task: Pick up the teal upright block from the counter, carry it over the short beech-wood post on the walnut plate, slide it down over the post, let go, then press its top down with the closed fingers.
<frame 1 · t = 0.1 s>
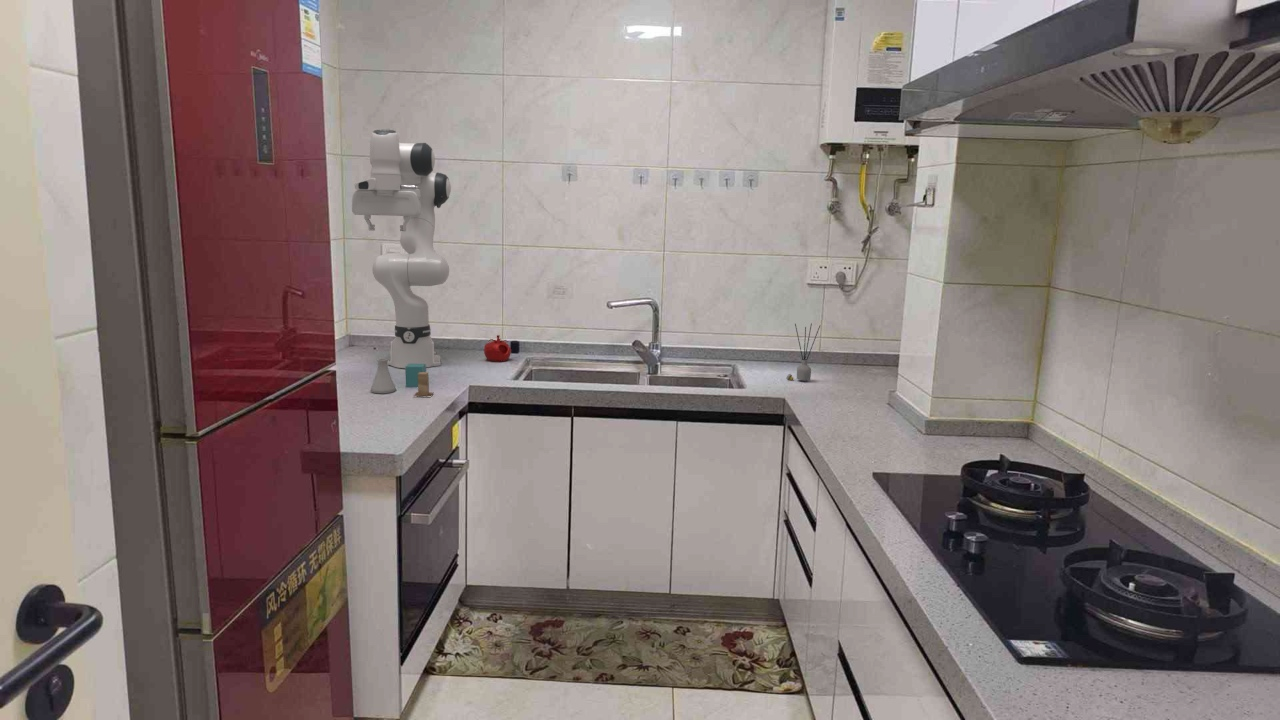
hand: (387, 230, 254), 48 cm above the countertop, tool pointing down, fingers open, 8 cm apart
reed diffuser: (801, 382, 282), on the countertop
hollow red tomato: (497, 360, 306), on the countertop
post: (423, 395, 249), on the countertop
flask: (383, 392, 253), on the countertop
teal upright block: (416, 385, 261), on the countertop
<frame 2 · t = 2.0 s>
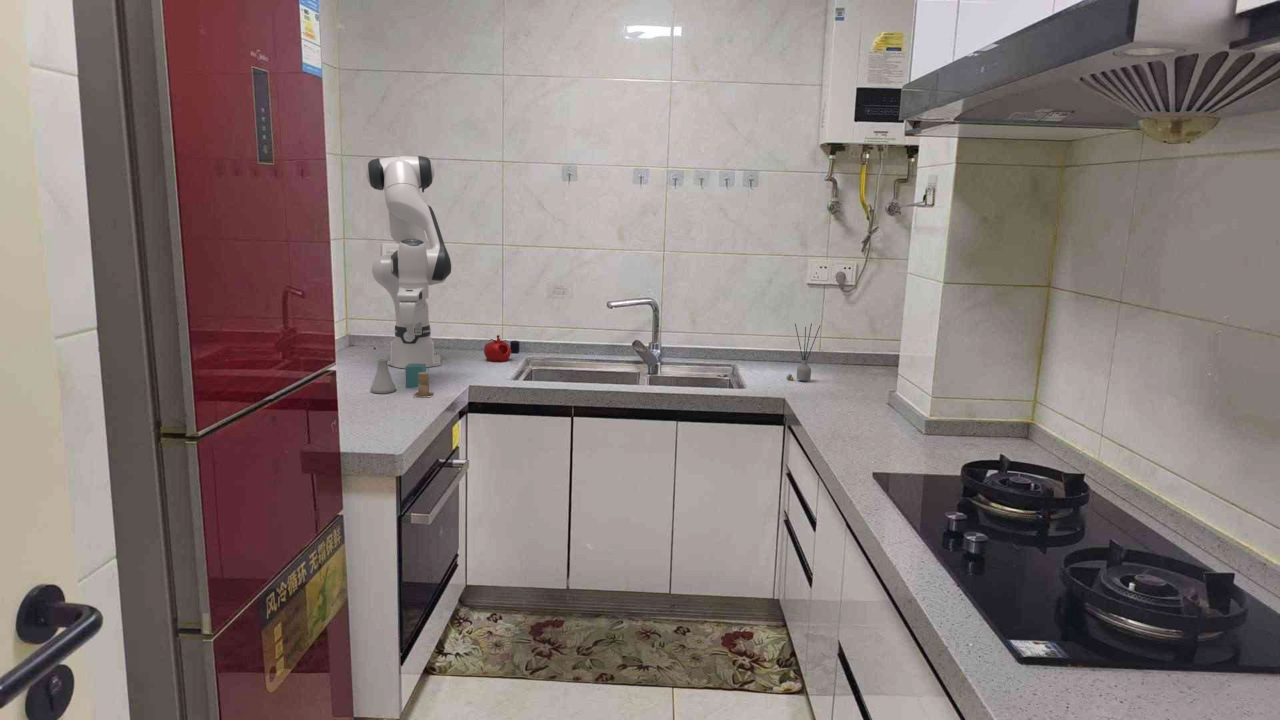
hand: (414, 337, 258), 15 cm above the countertop, tool pointing down, fingers open, 8 cm apart
nothing on the countertop moved.
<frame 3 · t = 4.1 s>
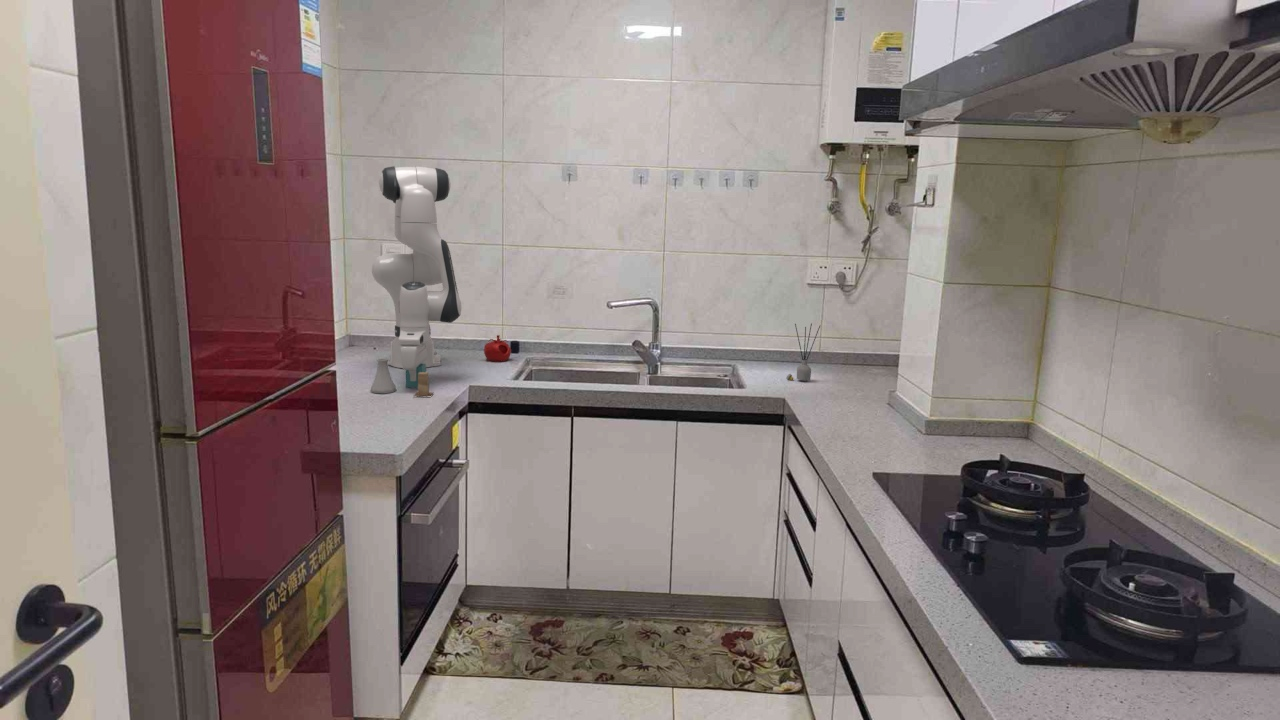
hand: (416, 378, 261), 2 cm above the countertop, tool pointing down, fingers closed on teal upright block, 5 cm apart
teal upright block: (416, 385, 261), on the countertop, touching gripper
everything else where it was.
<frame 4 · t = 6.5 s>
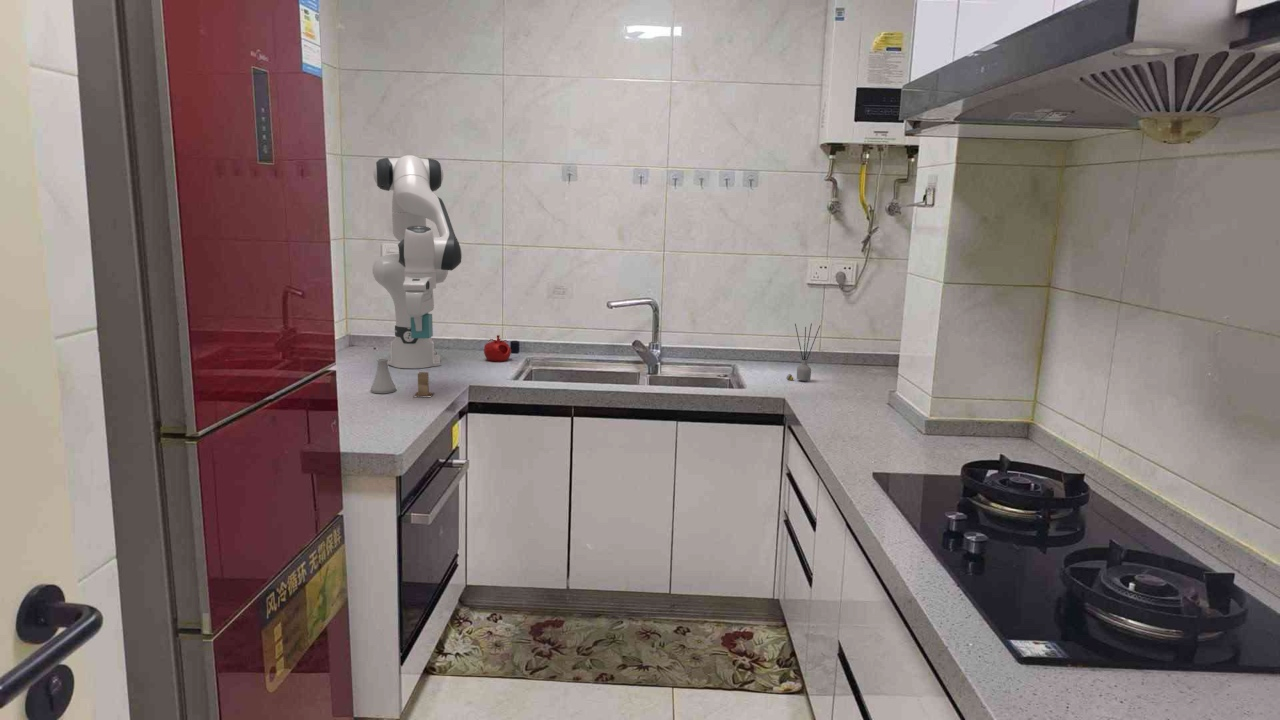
hand: (421, 329, 245), 20 cm above the countertop, tool pointing down, fingers closed on teal upright block, 5 cm apart
teal upright block: (422, 337, 246), point 18 cm above the countertop, touching gripper
everything else where it was.
when the fingers open (5 cm above the countertop, at t = 9.3 s): teal upright block drops 2 cm, resting on post.
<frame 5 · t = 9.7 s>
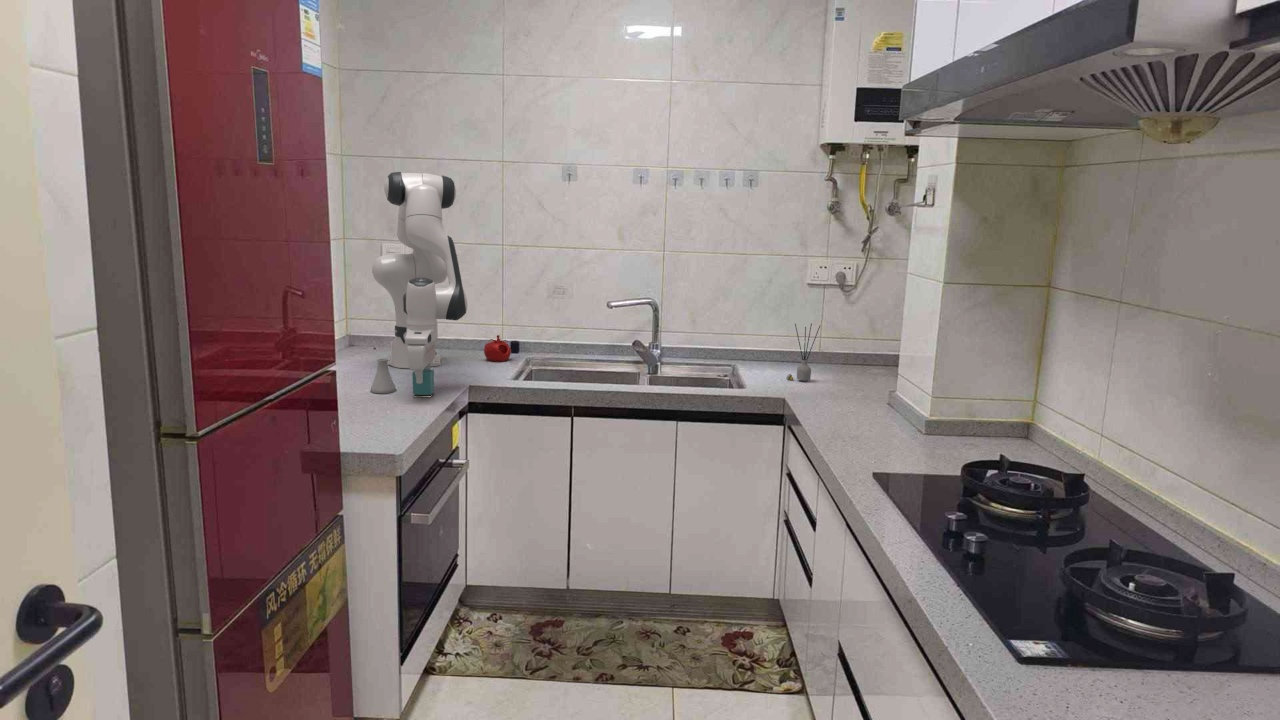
hand: (423, 379, 248), 5 cm above the countertop, tool pointing down, fingers open, 8 cm apart
teal upright block: (423, 392, 249), point 1 cm above the countertop, touching post
everything else where it was.
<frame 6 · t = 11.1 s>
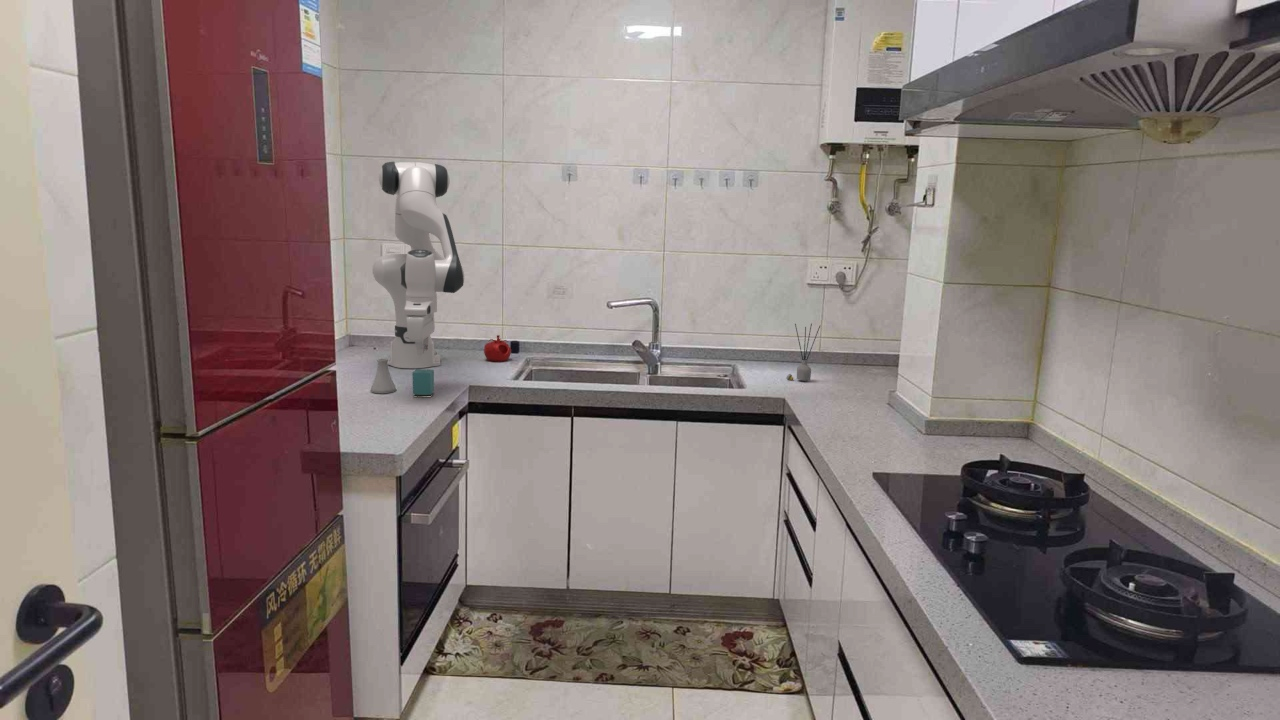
hand: (422, 352, 246), 13 cm above the countertop, tool pointing down, fingers open, 5 cm apart
nothing on the countertop moved.
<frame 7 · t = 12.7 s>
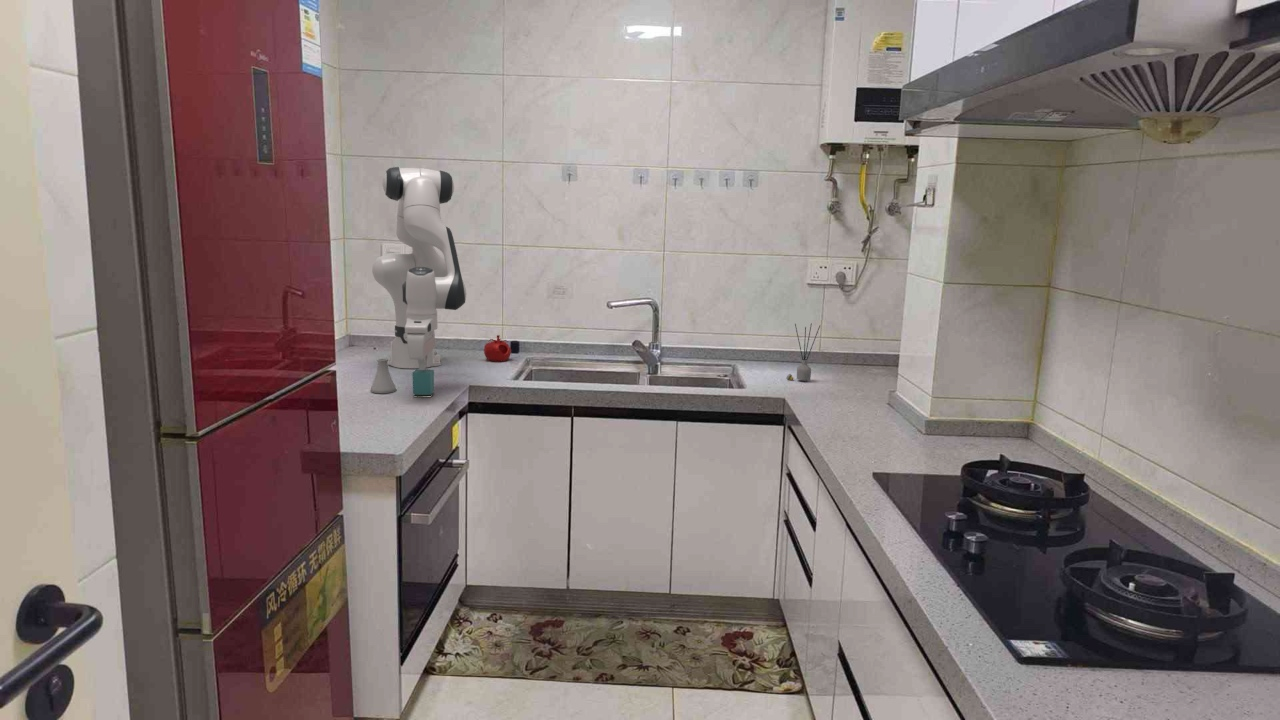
hand: (423, 369, 247), 8 cm above the countertop, tool pointing down, fingers closed
nothing on the countertop moved.
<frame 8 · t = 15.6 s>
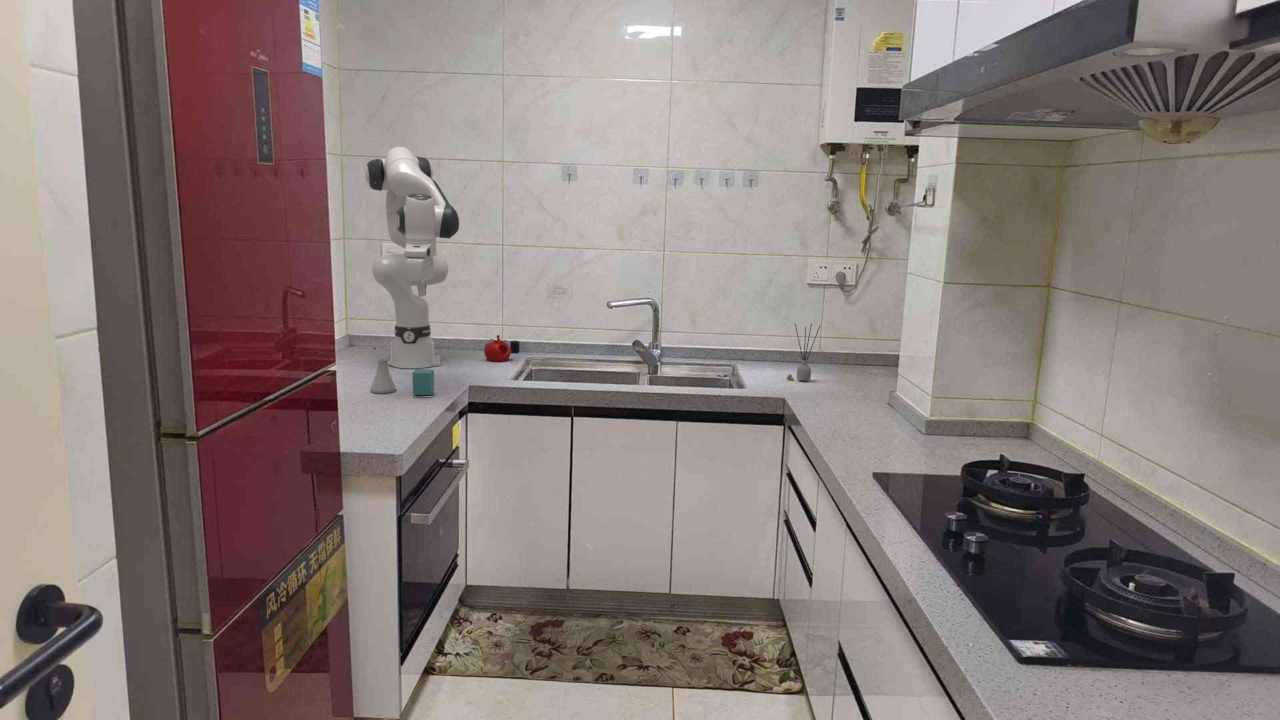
hand: (422, 296, 249), 29 cm above the countertop, tool pointing down, fingers closed
nothing on the countertop moved.
at the end: teal upright block 0.0 cm from the post (horizontally); teal upright block point 0.8 cm above the countertop; the gripper is holding nothing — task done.
